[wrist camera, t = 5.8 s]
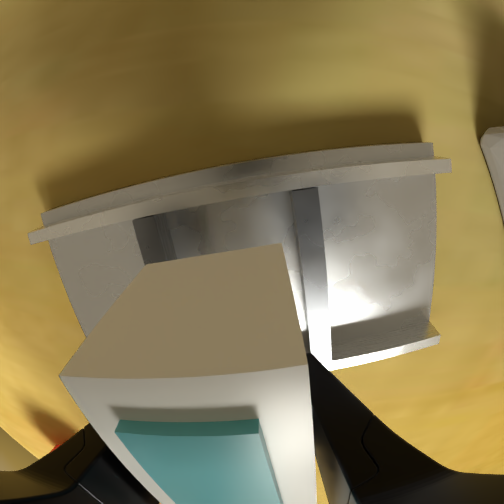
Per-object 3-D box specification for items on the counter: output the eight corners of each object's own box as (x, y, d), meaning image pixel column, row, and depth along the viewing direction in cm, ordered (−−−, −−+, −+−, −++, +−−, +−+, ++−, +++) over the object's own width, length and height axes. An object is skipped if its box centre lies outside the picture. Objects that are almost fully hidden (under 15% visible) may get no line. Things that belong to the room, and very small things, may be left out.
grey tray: (112, 368, 18) (98, 393, 16) (50, 209, 14) (23, 221, 12) (419, 328, 16) (436, 352, 14) (422, 142, 13) (449, 144, 10)
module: (204, 420, 11) (186, 533, 6) (146, 264, 9) (50, 386, 4) (303, 411, 11) (318, 530, 6) (281, 242, 8) (310, 379, 3)
